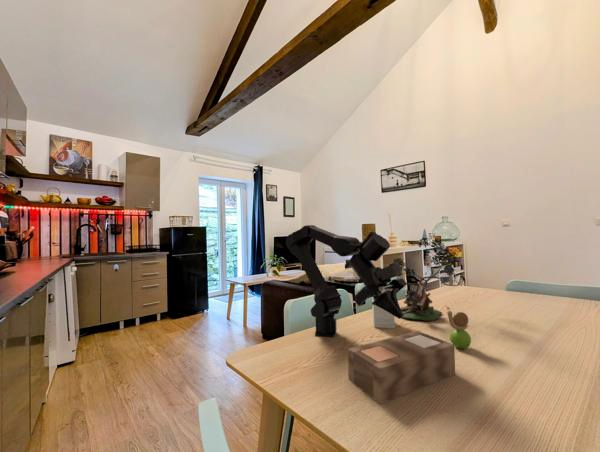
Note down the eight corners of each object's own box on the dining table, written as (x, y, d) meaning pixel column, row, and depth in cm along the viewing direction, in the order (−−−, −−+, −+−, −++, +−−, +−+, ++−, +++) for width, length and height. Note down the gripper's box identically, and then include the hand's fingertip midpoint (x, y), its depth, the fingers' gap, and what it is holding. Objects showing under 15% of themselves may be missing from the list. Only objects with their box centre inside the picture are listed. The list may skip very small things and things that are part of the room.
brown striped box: (380, 403, 55) (379, 368, 56) (348, 378, 65) (347, 349, 65) (455, 373, 66) (454, 344, 66) (418, 356, 76) (417, 330, 76)
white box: (424, 377, 65) (424, 347, 65) (404, 366, 70) (404, 339, 70) (441, 371, 67) (440, 342, 68) (421, 361, 73) (420, 334, 73)
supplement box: (395, 328, 97) (394, 292, 97) (373, 327, 99) (372, 292, 99) (392, 321, 104) (391, 288, 105) (372, 320, 106) (371, 288, 106)
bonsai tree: (444, 334, 91) (441, 239, 92) (380, 317, 109) (378, 238, 110) (478, 312, 114) (476, 236, 115) (420, 301, 132) (419, 236, 133)
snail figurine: (442, 344, 83) (441, 304, 83) (462, 343, 84) (461, 304, 84) (454, 352, 78) (453, 309, 78) (475, 351, 78) (474, 308, 78)
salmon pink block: (379, 395, 58) (378, 361, 58) (360, 381, 64) (360, 351, 64) (399, 387, 61) (398, 355, 61) (380, 374, 66) (379, 345, 66)
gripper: (363, 255, 71) (403, 307, 63) (400, 251, 83) (438, 294, 75) (340, 281, 77) (374, 332, 68) (377, 273, 89) (410, 316, 81)
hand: (401, 317), depth 73 cm, fingers closed
